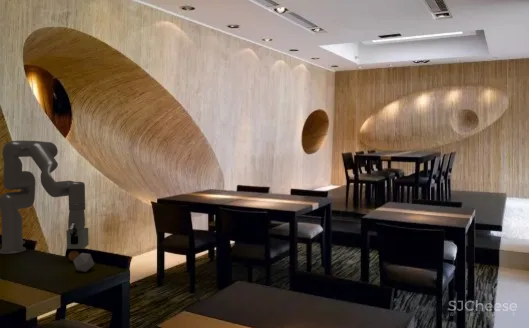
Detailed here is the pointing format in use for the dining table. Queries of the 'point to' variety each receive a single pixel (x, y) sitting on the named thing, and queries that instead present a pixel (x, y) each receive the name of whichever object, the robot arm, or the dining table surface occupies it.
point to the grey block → (82, 239)
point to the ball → (73, 255)
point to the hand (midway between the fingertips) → (77, 242)
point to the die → (83, 262)
